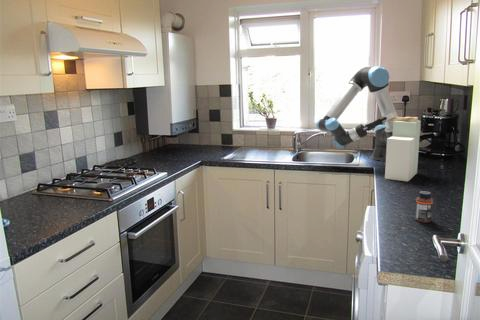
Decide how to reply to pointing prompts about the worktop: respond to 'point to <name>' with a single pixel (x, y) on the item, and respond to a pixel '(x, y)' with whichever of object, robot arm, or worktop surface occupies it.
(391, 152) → the tall pale green block
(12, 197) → the worktop surface
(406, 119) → the t-shaped wooden block
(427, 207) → the supplement bottle
